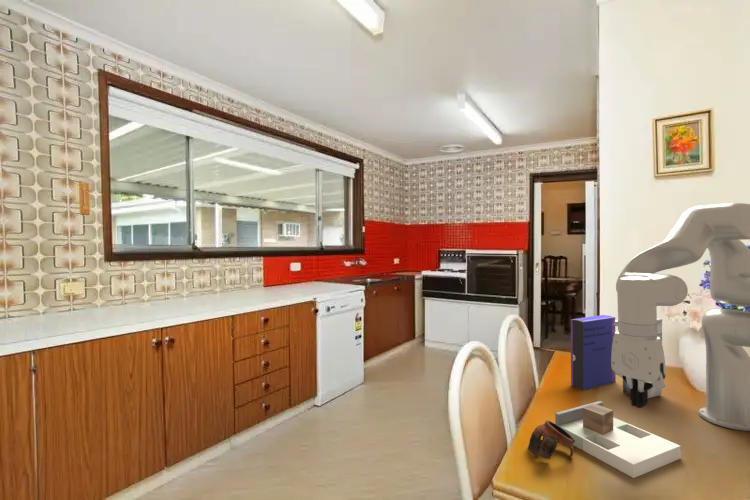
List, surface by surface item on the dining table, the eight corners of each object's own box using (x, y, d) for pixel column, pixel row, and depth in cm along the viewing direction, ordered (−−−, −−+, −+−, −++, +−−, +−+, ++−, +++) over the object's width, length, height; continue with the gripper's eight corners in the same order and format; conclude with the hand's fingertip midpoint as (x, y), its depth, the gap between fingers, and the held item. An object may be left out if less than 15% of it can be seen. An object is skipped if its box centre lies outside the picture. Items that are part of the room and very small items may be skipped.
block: (593, 421, 100) (593, 403, 100) (613, 429, 96) (613, 410, 96) (582, 426, 97) (582, 407, 97) (602, 434, 93) (602, 415, 93)
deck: (680, 458, 88) (680, 433, 88) (633, 478, 81) (633, 450, 81) (599, 421, 106) (599, 400, 106) (555, 435, 99) (555, 412, 99)
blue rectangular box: (602, 377, 140) (602, 314, 140) (615, 382, 136) (615, 316, 136) (571, 385, 133) (570, 318, 133) (583, 390, 129) (583, 321, 128)
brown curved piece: (527, 441, 97) (543, 414, 97) (563, 468, 92) (580, 440, 92) (520, 451, 87) (538, 421, 87) (560, 482, 82) (580, 451, 82)
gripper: (596, 325, 93) (598, 397, 94) (662, 338, 80) (664, 423, 80) (616, 321, 96) (618, 391, 97) (683, 333, 83) (684, 415, 83)
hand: (639, 405), depth 88 cm, fingers closed
